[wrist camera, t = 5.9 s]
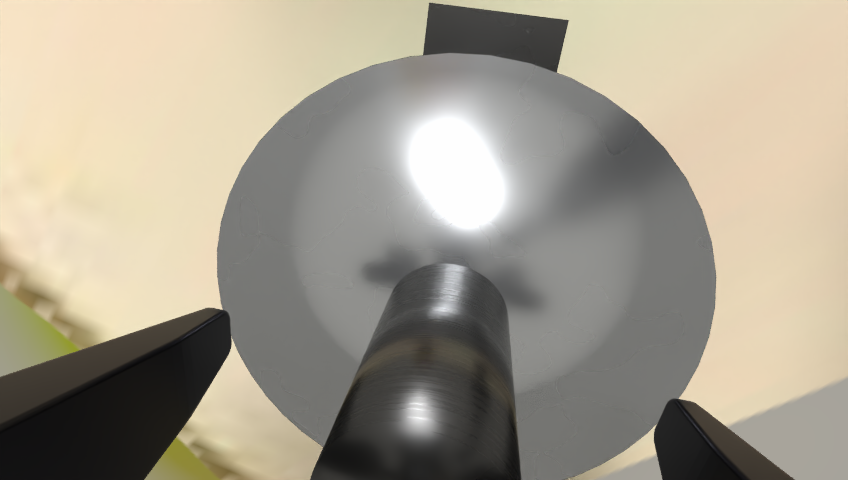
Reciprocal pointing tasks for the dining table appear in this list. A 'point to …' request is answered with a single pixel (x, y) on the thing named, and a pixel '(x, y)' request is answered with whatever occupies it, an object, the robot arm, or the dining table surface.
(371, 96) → the lid
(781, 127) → the dining table surface
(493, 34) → the grey low hollow cylinder
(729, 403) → the dining table surface
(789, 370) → the dining table surface
